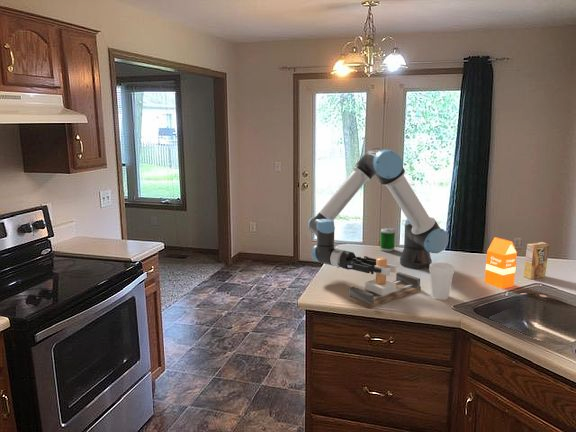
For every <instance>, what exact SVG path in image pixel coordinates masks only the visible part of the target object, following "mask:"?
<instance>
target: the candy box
mask: <svg viewBox="0 0 576 432" xmlns="http://www.w3.org/2000/svg"><path fill="white" fill-rule="evenodd" d="M549 248H550V244H549V243H547V242H543V241H540V242H533V243H526V252H525V260H524V261H525V262H524V268H523V269H524V270H523V277H524V278H527V279H529V280H533V279H539V278H545V277H546V273H547V271H546V270H547V264H548V257H549Z"/></svg>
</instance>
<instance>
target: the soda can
mask: <svg viewBox="0 0 576 432" xmlns="http://www.w3.org/2000/svg"><path fill="white" fill-rule="evenodd" d="M395 244H396V230H395V229H394V228H393V227H383V228H382V229H380V244H379V245H380V246H379V247H380V250H381V251H382V252H388V253H389V252H393V251H394V250H395V246H396V245H395Z"/></svg>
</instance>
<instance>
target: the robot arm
mask: <svg viewBox="0 0 576 432" xmlns="http://www.w3.org/2000/svg"><path fill="white" fill-rule="evenodd" d="M403 164H404V163H403V159H402V157H401V155H400V154H399V153H398V152H396V151H394V150H392V149H388V148H379V147H375V148H371V149H369V150H368V151H366V152H365V153H364V154H363V155H362V157H361V158H360V159H359V160H358V161H357V163H356V164H355V165H354V166H353V167H352V168H353V171H352V172H351V174H349V175H348V177H347V178H346V179H345V181H343V183H342V184H341V185H340V186H339V188H338V189H337V190H336V192H335V193H334V194H333V195H332V196H331V198H330V199H329V200H328V201H327V202H326V204H325V205H324V206H323V208H322V209H320V211H319V212H318V213H317V214H316V216H312V217H310V219H309V220H308V222H307V223H308V224H307V225H308V229H309V230H310V232H311V233H312V234H314V235H315V237H316V245H313V247H312V251H311V258H312V260H313V261H314V262H316V263H317V262H318V263H320V264H325V265H329V266H333V267H336V268H341V269H344V270H347V271H351V270H353V271H356V272H361V273H365V274H370V275H374V274H376V273H379V274H383V275H386V277H387V276H388V277H389V276H391V273H393V274H395V273H397V265H395V264H389V263H387V264H386V268H384V267H380V266H376V259H377V258H374V257H373V258H372V257H369V256H367V255H365V256H364V255H363V257H361V256H356V254H355V253H354V252H352V251H349V250H346V249H345V250H344V249H339V248H335V228H336V227H335V220H336V218H337V217H338V216H339V215H340V213H341V212H342V211H343V210H344V209H345V207H346V206H347V205H348V204H349V202H350V201H351V200H352V199H353V198H354V197H355V195H356V194H357V193H358V192H359V191H360V190H361V188H362V187H363V186H364V184H365V183H366V182H367V181H368V182H369V181H371V179H372V178H374V176H375V177H376V178H377V180H378V181H379V183H380V184H381V186H385V187H386V188H387V189H388V190H389V192H390V193H391V196H392V197H393V198H394V200H395V202H396V203H397V205H398V206H399V208H400V209H401V211H402V213H403V215H404V216H405V218H406V219H405V220H404V221H405V222H404V236H403V237H404V239H403V240H404V242H403V244H404V245H403V250H402V252H401V254H400V257H399V265H401V266H403V267H406V268H410V269H427V268H428V269H429V267H430V264H431V263H433V260H432V256H431V254H439V253H441V252H443V251H444V250H445V249H446V247H447V246H448V243H449V238H450V237H449V235H448V233H447V231H446V230H444V228H441V227H440V225H439V224H438V222H437V220H436V219H435V218H434V217H430V216H429V214H428V212H427V210H426V209H425V208H424V206H423V204H422V203H421V201H420V200H419V198H418V196H417V195H416V193H415V191H414V190H413V188H412V187H411V185H410V183H409V181H408V180H407V178H406V176H405V173H406V170H405V168H404V167H403V166H404V165H403Z"/></svg>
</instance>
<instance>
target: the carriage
mask: <svg viewBox="0 0 576 432" xmlns="http://www.w3.org/2000/svg"><path fill="white" fill-rule="evenodd" d="M375 259H376V266H380V267H384V268H386V264H388V263H387V261H388V260H387V258H385V257H377V258H375ZM392 282H393V281H392ZM392 282H391V281H388V280H387V275H383V274H379V273H375V278H374V279H371V280H368V281H365V288H364V289H365V291H366V290H368V291H371V292H374V293H376V294H379V295H381V296H383V295H386V294H389V293H392V292H395V291H396V284H395V283H392Z"/></svg>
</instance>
